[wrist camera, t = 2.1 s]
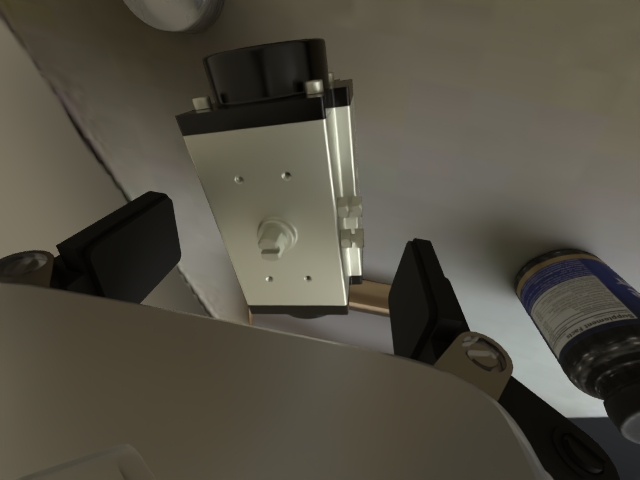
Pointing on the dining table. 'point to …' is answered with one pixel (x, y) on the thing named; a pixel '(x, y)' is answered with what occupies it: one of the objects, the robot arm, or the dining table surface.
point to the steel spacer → (177, 14)
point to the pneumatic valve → (281, 175)
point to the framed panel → (344, 320)
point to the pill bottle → (589, 328)
